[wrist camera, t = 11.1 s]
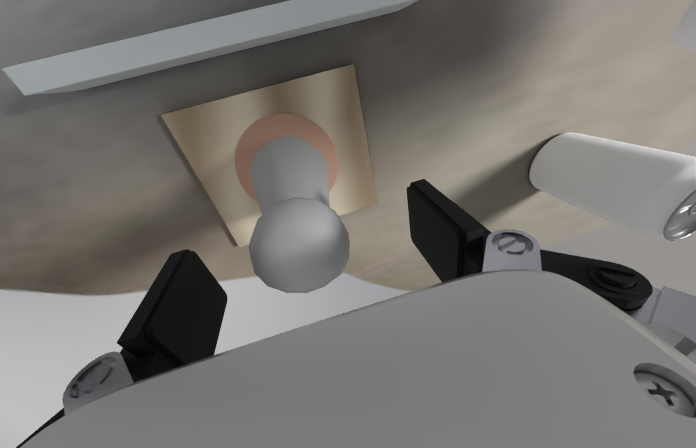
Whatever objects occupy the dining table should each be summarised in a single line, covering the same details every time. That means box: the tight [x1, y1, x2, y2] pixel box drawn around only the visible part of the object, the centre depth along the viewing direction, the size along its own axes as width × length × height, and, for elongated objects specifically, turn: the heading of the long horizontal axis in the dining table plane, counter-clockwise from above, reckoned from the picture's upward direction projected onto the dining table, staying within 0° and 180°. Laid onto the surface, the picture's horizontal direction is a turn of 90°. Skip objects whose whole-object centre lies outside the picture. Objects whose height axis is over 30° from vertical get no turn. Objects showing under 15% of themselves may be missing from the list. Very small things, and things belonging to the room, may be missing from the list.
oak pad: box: [161, 64, 378, 247], centre depth 21 cm, size 14×12×1 cm
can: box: [529, 133, 696, 241], centre depth 23 cm, size 6×6×12 cm
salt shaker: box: [249, 136, 349, 293], centre depth 15 cm, size 6×6×13 cm
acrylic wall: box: [2, 0, 419, 96], centre depth 15 cm, size 22×1×4 cm, turn 102°
